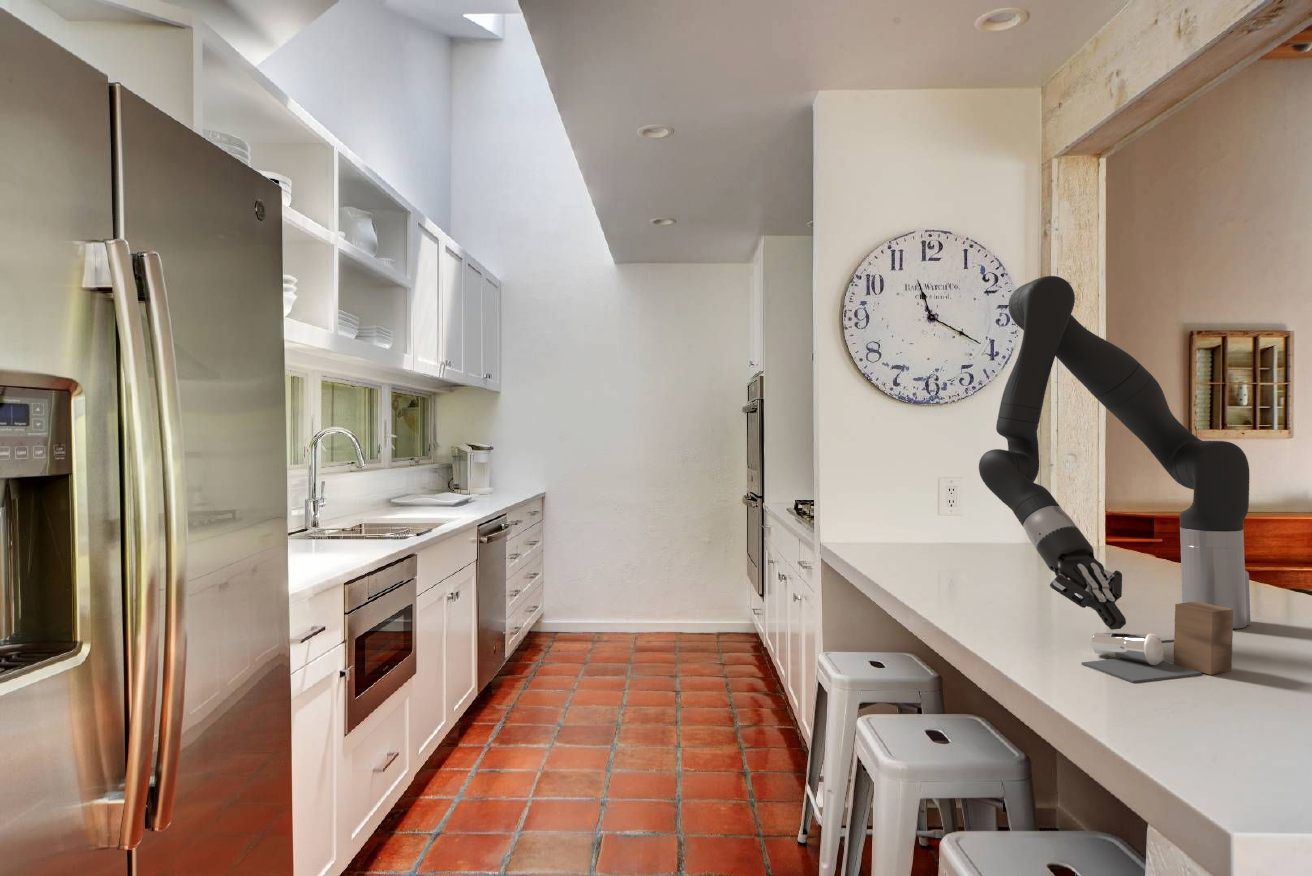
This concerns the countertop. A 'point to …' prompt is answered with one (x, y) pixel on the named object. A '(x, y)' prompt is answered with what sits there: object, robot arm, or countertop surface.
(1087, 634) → the countertop surface
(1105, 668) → the mat
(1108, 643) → the milkshake
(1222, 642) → the walnut block
